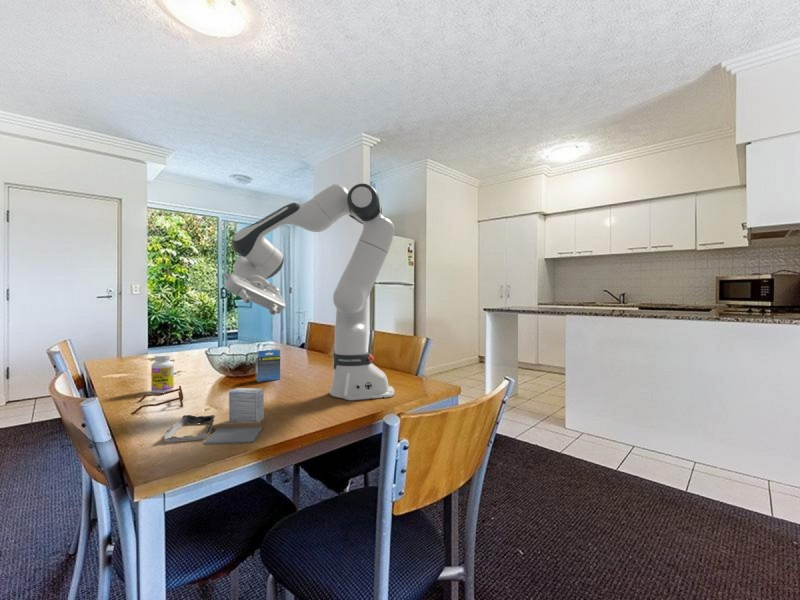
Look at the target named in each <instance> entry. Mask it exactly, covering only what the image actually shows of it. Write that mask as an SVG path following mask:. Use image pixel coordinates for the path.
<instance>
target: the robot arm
mask: <svg viewBox="0 0 800 600" xmlns="http://www.w3.org/2000/svg"><path fill="white" fill-rule="evenodd" d="M382 213H383V208H382V201H381V198H380V196H379V194H378V192H377V190H376V189H375V188H374V187H373V186H372V185H370V184H367V183H358V184H355V185H353V186H352V187H351V188H350V190H348V189H347V188H346V187H345V186H344V185H342V184H339V183H335V184H332V185H330V186H328V187H326V188H324V189H323V190H321V191H320V192H318V193H316V195H314V196H313V197H312V198H311V199H310V200H307V201H305V202H303V203H296V202H291V203H289V204H285V205H284V206H282V207H280V208H279V209H277V210H274V211H273V212H271V213H270V214H268V215H267V216H264V217H263V218H261V219H260V220H257V221H255V222H254V223H252V224H250V225H248V226H244V227H243V228H241V229H240V230H238V231H237V232H236V233H235V234H234V235H233V237H232V247H233V251H234V252H236V254H238V255H240V256H239V257H238V258H237V259H236V260H235V261H234V264H233V272H232V273H230V272H229V273H227V272H225V273H224V278H225V283H224V287H225V289H226V290H227V291H228V292H230V293H232V294H235V295H236V296H238V297H240V299H242V301H243V302H244V303H246V304H249V303H250V302H251V303H254V304H256V305H259V306H261V307H263V308H265V309H267V310H268V313H269V314H270V315H272V316H275V315H276V314H277V315H279V314H281V313H282V312H283V311H284V309H286V301H285V300H284V299H283V296H282V295H281V294H280V289H279V288H278V287H276V286H275V285H274V284H272V283H271V282H270V281H269V280H268V279H271V278H273V277H274V276H275V275H277V274H278V273H279V272H280V271H281V269H282V268H283V264H284V257H285V256H284V253H282V252H281V251H280V250H279V249H278V248H277V247H276V246H275V245H274V244H272V243H271V242H270V241H269V240H268V239H267V238H266V237H265V236H266V235H268V234H270V233H271V232H273V231H275V230H276V229H278V228H280V227H282V226H283V225H288V224H289V225H295V226H298V227H300V228H301V229H304V230H306V231H308V232H314V233H320V232H324V231H325V230H327V229H328V228H330V227H331V226H333V224H334V223H335V222H338V220H339V219H340V218H342V217H343V216H346V215H348V216H349V218H352V219H353V220H355V221H356V222H358V223H360V224H362V227H363V228H362V231H361V235H360V237H359V239H358V241H357V243H356V246H355V247H354V249H353V252H352V254H351V257H350V259H349V261H348V263H347V266H346V267H345V269H344V271H343V273H342V275H341V277H340V279H339V281H338V283H337V285H336V287H335V290H334V292H333V295H332V301H333V305H334V306H335V308H336V313H335V314H336V315H335V316H336V317H335V327H334V352H333V356H332V368H333V377H332V383H331V384H332V385H331V387H330V391H329V395H330V396H332V397H334V398H339V399H344V400H346V401H357V400H369V399H370V400H371V398H372V399H383V397H384V398H391V397H393V396H394V395H395V387H393V386H392V385H389V381H388V376H387V375H386V373H385V372H384V371H383V370H381V369H380V368H379V367H378V366H376V365H375V364H374V363H373V362H374V361H375V358H374V356H373V355H372V354H371V353H369V352H367V342H368V339H367V336H368V335H367V330H368V327H367V326H368V325H367V324H368V322H367V321H368V299H369V296H370V294H371V291H372V289H373V287H374V285H375V283H376V281H377V278H378V276H379V274H380V271H381V269H382V267H383V265H384V262H385V260H386V258H387V255H388V253H389V251H390V247H391V245H392V242H393V238H394V235H395V230H396V229H395V225H394V223H393V221H391V219H389V218H387V217H385V216H383V214H382Z"/></svg>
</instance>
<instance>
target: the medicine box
mask: <svg viewBox="0 0 800 600" xmlns="http://www.w3.org/2000/svg"><path fill="white" fill-rule="evenodd" d="M264 401H265V399H264V389H263V388H258V387H256V388H255V387H254V388H253V387H252V388H251V387H246V388H245V387H237V388H234V389H232V390H230V391H229V392H228V408H229V409H228V410H229V411H228V417H229V418H228V419H229V421H228V423H234V422H262V421H263V420H264V419H265V404H264Z"/></svg>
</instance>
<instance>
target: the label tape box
mask: <svg viewBox="0 0 800 600" xmlns="http://www.w3.org/2000/svg"><path fill="white" fill-rule="evenodd" d="M269 353H270V354H269ZM277 380H279V381H280V380H281V349H269V350H268V349H267V350H257V358H256V359H255V381H257V383H261V382H262V381H263V382H267V381H268V382H270V381H277ZM263 382H262V383H263Z"/></svg>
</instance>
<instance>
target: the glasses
mask: <svg viewBox="0 0 800 600" xmlns="http://www.w3.org/2000/svg"><path fill="white" fill-rule="evenodd" d="M175 392H178V393H177V394H178V397H176V398H172V399H169V400H164V401H162V402H161V401H160V402H158V403H152V404H151V403H149V404H144V405H143V404H142V405H140V406H139V407H138V408H136V409H135V410H133V412H131V413H130V414H131V415H135V414H136V413H138V412H139V411H140V410H141V409H143V408H148V407H158V406H161V405H165V404H168V403H172V402H176V401H178V400H179V403H180V406H181V407H182V406H183V407H184V401H183V400H184V399H183V398H184V394H183V389H182V386H181V385H178V388H176V389H173V390H172V391H168V392H164V393H151V394H144V396H142V397H141V398H140V399H139V400H138V401H137V402H136V404H139V403H138V402H140V403H141V402H143V400H145V398H147V397H160V396H164V395H167V394H173V393H175Z"/></svg>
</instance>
